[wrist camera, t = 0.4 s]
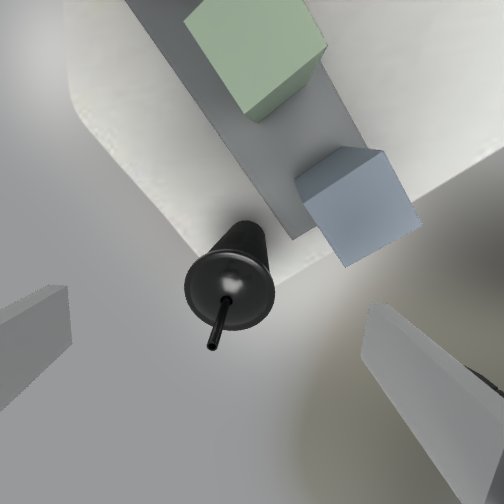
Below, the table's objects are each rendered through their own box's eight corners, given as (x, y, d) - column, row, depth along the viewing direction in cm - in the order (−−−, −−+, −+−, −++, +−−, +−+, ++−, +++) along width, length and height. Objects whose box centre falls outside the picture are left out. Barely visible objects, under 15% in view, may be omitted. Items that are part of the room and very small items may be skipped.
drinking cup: (205, 239, 36) (129, 345, 18) (243, 196, 34) (201, 267, 15) (248, 276, 38) (220, 409, 19) (288, 237, 35) (300, 348, 17)
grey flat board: (205, -141, 23) (200, -159, 22) (381, 180, 31) (386, 182, 30) (110, -25, 27) (101, -34, 25) (292, 236, 35) (292, 240, 34)
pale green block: (272, 22, 25) (268, -67, 14) (307, 83, 27) (327, 45, 16) (221, 69, 27) (183, 21, 16) (257, 123, 29) (244, 114, 18)
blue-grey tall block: (343, 145, 29) (383, 150, 18) (370, 193, 30) (422, 225, 19) (293, 179, 31) (302, 203, 19) (322, 223, 32) (345, 267, 21)
